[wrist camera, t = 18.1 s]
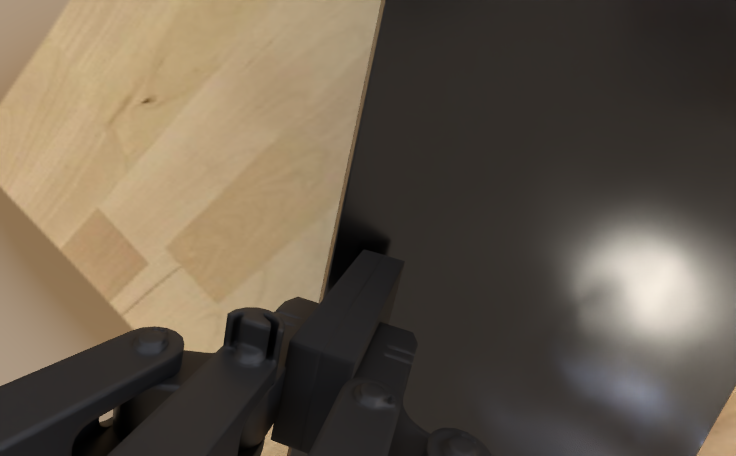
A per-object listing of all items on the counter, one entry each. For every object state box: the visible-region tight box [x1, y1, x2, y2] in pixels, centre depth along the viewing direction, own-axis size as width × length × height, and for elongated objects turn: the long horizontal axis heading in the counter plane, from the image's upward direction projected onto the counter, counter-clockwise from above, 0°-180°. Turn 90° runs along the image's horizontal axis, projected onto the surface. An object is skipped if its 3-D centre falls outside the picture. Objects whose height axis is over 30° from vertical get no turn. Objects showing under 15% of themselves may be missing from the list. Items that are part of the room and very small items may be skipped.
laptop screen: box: [287, 0, 736, 456], centre depth 20 cm, size 22×31×1 cm
